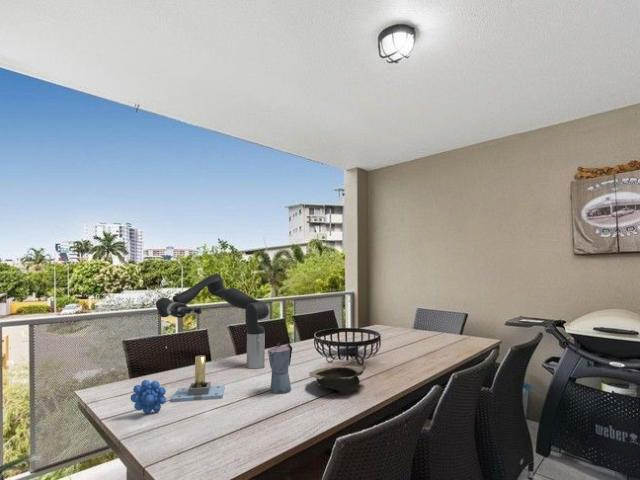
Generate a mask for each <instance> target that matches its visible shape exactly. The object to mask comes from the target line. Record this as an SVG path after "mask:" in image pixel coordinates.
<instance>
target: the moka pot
mask: <svg viewBox="0 0 640 480" xmlns="http://www.w3.org/2000/svg"><path fill="white" fill-rule="evenodd" d="M281 344H282V343H281V342H280V341H279V342H277V343H276V346H274V347H270V348H268V350H267V353H268V359H269V367H270V369H271V377H270V378H271V379H270V380H271V381H270V390H269V391H270V392H271V393H272V394H276V395H279V394H285V393H288V392H290V391H291V390H292V385H291V381H290V380H291V379H290V374H289V373H290V372H289V366H291V359H292V353H293V347H292V346H291V344H290V343H288V344H285V345H281Z"/></svg>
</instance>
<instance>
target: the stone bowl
mask: <svg viewBox="0 0 640 480" xmlns="http://www.w3.org/2000/svg"><path fill="white" fill-rule="evenodd" d="M366 368H367V367H366V366H365V365H364V366H359V367H358V366H354V365H353V366H351V365H338V366H337V365H335V366H327V367H322V368H317V369H314V370H312V371H310V372H309V374H308V376H310V377H312V378H315V380H316V382H317V384H318V385H319V386H321V387H324V388H327V389H329V388H331V389H332V390H337V393H338V394H339V395H340V396H343V395H349V394H351V393H352V394H353V393H354V391H357V390H359V388H360V383H361V382H360V378H359V376H362V375H363V373H364V371H365V370H366Z"/></svg>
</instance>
